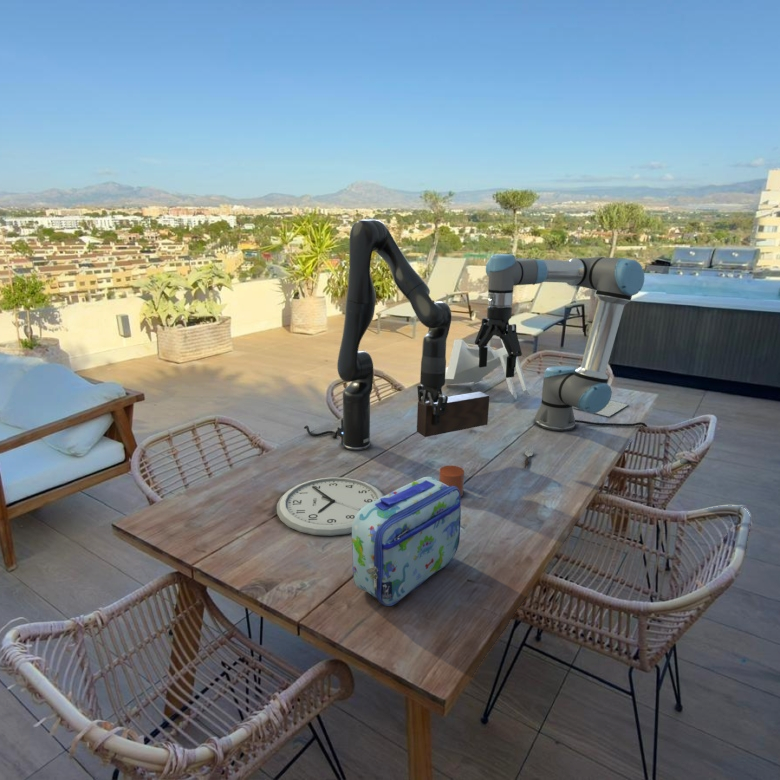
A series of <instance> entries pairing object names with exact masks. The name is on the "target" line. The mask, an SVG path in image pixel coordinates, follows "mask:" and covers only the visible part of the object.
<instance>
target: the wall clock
mask: <svg viewBox="0 0 780 780" xmlns="http://www.w3.org/2000/svg"><path fill="white" fill-rule="evenodd" d="M383 496H385V494H384V493H383V492H382V491H381V490H380V489H379V488H377V487H376V486H374V485H372V484H371V483H369V482H365V481H362V480H359V479H355V478H349V477H338V476H337V477H335V476H333V477H332V476H331V477H322V478H317V479H312V480H307V481H305V482H302V483H299V484H297V485H295V486H293V487H292V488H290V489H288V490H287V491H286V492H285V493H284V494H283V495H281V496H280V498H279V499H278V502H277V503H276V515H277V517H278V518H279V520H280V521H281V522H282V523H283V524H285V525H286V526H287V527H288V528H290V529H293V530H295V531H297V532H299V533H303V534H308V535H312V536H327V537H328V536H329V537H331V536H332V537H333V536H342V535H350V534H352V526H353V521H354V518H355V516H356V515H357V513H358V512H359V510H360V509H361V508H362V507H364V506H365V505H367V504H369V503H371V502H373V501H375V500H377V499H379V498H381V497H383Z"/></svg>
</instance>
